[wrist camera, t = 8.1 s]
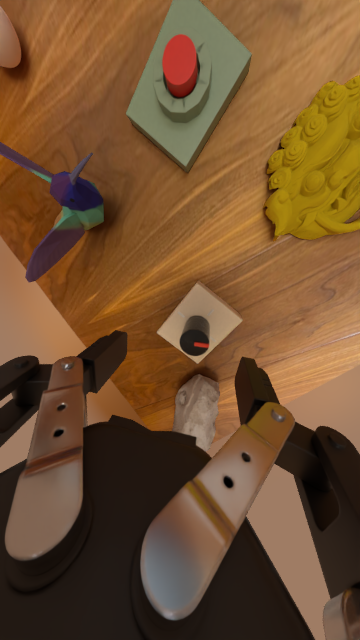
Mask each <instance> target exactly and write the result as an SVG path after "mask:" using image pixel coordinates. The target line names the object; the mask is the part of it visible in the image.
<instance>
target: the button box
mask: <svg viewBox="0 0 360 640" xmlns="http://www.w3.org/2000/svg"><path fill="white" fill-rule="evenodd" d="M179 34H183V35H186V36H188V37H189V38H190V39H191V40H192V42H193V43H194V46H195V49H196V56H197V69H198V74H197V80H196V84H195V86H194V88H193V90H192V91H191V92H190V93H189V94H188V95H187V96H185V97H176V96H174V95H173V94H172V93H171V92H170V91H169V89H168V86H167V83H166V79H165V75H164V72H163V66H162V60H163V53H164V50H165V47H166V45H167V44H168V42H169V41H170V40H171V39H172V38H173V37H174V36H176V35H179ZM251 56H252V54H251V53H250V52H249V51H248V50H247V49H246V48H245V47H244V46H243V44H242V43H241V42H240V41H239V40H238V39H237V38H236V37H235V36H234V35H233V34H232V33H231V32H230V31H229V30H228V29H227V28H226V27H225V26H224V25H223V24H222V23H221V22H220V21H219V20H218V19H217V18H216V17H215V16H214V15H213V14H212V13H211V12H210V11H209V10H208V9H207V8H206V7H205V6H204V5H203V4H202V3H201V2H200V1H199V0H173V1H172V4H171V6H170V9H169V11H168V14H167V16H166V18H165V21H164V23H163V26H162V28H161V30H160V33H159V35H158V38H157V40H156V42H155V45H154V47H153V50H152V52H151V54H150V57H149V59H148V62H147V64H146V66H145V69H144V71H143V74H142V76H141V79H140V81H139V83H138V86H137V88H136V91H135V93H134V95H133V98H132V100H131V103H130V105H129V107H128V110H127V112H126V115H127V116H128V118H129V119H130V121H131V123H132V124H133V125H134V126H135V127H136V128H137V129H138V130H139V131H141V132H142V133H143V134H144V135H145V136H146V137H147V138H148V139H150V140H151V141H152V142H153V143H154V144H155V145H156V146H157V147H159V148H160V149H161V150H162V151H163V152H164V153H165V154H166V155H168V156H169V157H170V158H171V159H172V160H173V161H174V162H175V163H177V164H178V165H179V166H180V167H181V168H182V169H183V170H185V171H186V172H187V173H188V172H189V170H190V169H191V167H192V165H193V164H194V162H195V160H196V159H197V157H198V155H199V154H200V152H201V150H202V149H203V147H204V145H205V144H206V142H207V140H208V139H209V137H210V135H211V134H212V132H213V130H214V129H215V127H216V125H217V124H218V122H219V120H220V119H221V117H222V115H223V114H224V112H225V110H226V109H227V107H228V105H229V104H230V102H231V100H232V99H233V97H234V95H235V94H236V92H237V90H238V89H239V87H240V85H241V84H242V82H243V80H244V78H245V77H246V75H247V73H248V71H249V66H250V61H251Z"/></svg>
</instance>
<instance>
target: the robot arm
mask: <svg viewBox="0 0 360 640" xmlns="http://www.w3.org/2000/svg"><path fill="white" fill-rule="evenodd" d="M126 354H127V333H126V332H122V331H117V330H115V331H114V332H113V333H111V334H110V335H109V336H104V337H102V338H100V339H98V340H97V341H96V342H95V343H93V344H92V345H91V346H89V347H88V348H87V349H85V350H84V351H83V352H81V353H80V354H79V355H78V356H76V357H75V356H70V357H65V358H62V359H59V360H58V361H56V362H55V363H54V364H39V360H38V358H37V357H35V356H22V357H18V358H15V359H12V360H10V361H8V362H7V363H5V364H3V365H2V366H0V401H1V400H2V399H3V398H5V397H6V396H7V395H9V394H10V393H12V396H13V399H12V400H10V401H9V402H8V403H6V404H5V405H4V406H3V407H2V408H0V447H1V446H2V445H3V444H4V443H5V442H6V441H7V440H8V439H9V438H10V437H11V436H12V435H13V434H14V433H15V432H16V431H17V430H18V429H19V428H20V427H21V426H22V425H23V424H24V423H25V422H26V421H27V420H28V419H30V418H31V417H32V416H33V414H35V413H36V412H37V411H38V414H37V419H36V423H35V428H34V432H33V436H32V441H31V445H30V449H29V453H28V458H27V459H25V460H24V461H22V462H20V463H18V464H16V465H15V466H13V467H11V468H9V469H7V470H5V471H4V472H2V473H0V640H315V639H314V637H313V635H312V633H311V631H310V629H309V627H308V625H307V624H306V622H305V620H304V618H303V617H302V615H301V613H300V611H299V609H298V608H297V606H296V604H295V602H294V600H293V599H292V597H291V595H290V593H289V592H288V590H287V588H286V586H285V585H284V583H283V581H282V579H281V577H280V576H279V574H278V572H277V570H276V568H275V567H274V565H273V563H272V561H271V560H270V558H269V556H268V555H267V552H266V551H265V549H264V547H263V545H262V544H261V542H260V540H259V538H258V537H257V535H256V533H255V531H254V529H253V528H252V526H251V524H250V522H249V520H248V519H247V517H246V515H247V513H248V511H249V509H250V507H251V505H252V503H253V502H254V500H255V498H256V496H257V494H258V492H259V491H260V489H261V487H262V485H263V483H264V481H265V479H266V478H267V476H268V474H269V472H270V470H271V468H272V466H273V464H276V465H278V466H280V467H281V468H283V469H285V470H286V471H288V472H290V473H291V474H293V475H294V478H295V482H296V485H297V488H298V492H299V495H300V498H301V502H302V505H303V508H304V511H305V515H306V518H307V522H308V525H309V528H310V531H311V535H312V538H313V542H314V545H315V548H316V552H317V555H318V558H319V562H320V565H321V568H322V572H323V575H324V578H325V582H326V585H327V588H328V592H329V595H330V598H331V599H330V600H329V601H328V602H327V603H326V604H325V606H324V610H323V626H324V632H325V637H326V640H360V454H359V453H358V451H357V450H356V448H355V447H354V445H353V444H352V443H351V442H350V441H349V440H348V439H347V438H346V437H345V436H344V435H342V434H341V433H339V432H338V431H336V430H334V429H332V428H330V427H326V426H320V427H318V428H317V429H316V431H313V430H311V429H309V428H307V427H304V426H303V425H300V424H299V423H297V422H295V419H294V417H293V415H292V414H291V413H290V412H289V411H288V410H287V409H286V408H285V407H283V406H282V405H280V403H279V401H278V398H277V396H276V393H275V391H274V389H273V387H272V384H271V382H270V379H269V377H268V375H267V374H266V372H265V371H264V370H263V369H261V368H258V367H257V364H256V362H255V360H254V359H251V358H246V357H242V358H241V360H240V363H239V367H238V370H237V373H236V376H235V390H236V397H237V404H238V410H239V417H240V424H241V426H240V427H239V428H238V430H237V431H236V432H235V433H234V434H233V435H232V436H231V437H230V439H229V440H228V441H227V442H226V443H225V444H224V445H223V446H222V448H221V449H220V450H219V451H218V452H217V453H216V454H215V456H214V457H213V458H211V457H210V456H209V455H208V454H207V453H206V452H205V451H204V450H203V449H201V448H200V447H198V446H197V445H196V439H197V437H194V436H191V435H187V434H183V433H179V432H176V431H151V430H149V429H147V428H145V427H144V426H142V425H140V424H138V423H137V422H135V421H133V420H131V419H127V418H123V417H119V416H115V415H112V416H111V418H110V420H109V421H108V422H99V423H95V424H92V425H89V426H88V425H87V403H86V402H87V400H86V394H88V392H93V393H97V392H98V391H99V390H100V389H101V387H102V386H103V385H104V384H105V382H106V381H107V380H108V379H109V378H110V376H111V375H112V374H113V373H114V372H115V370H116V369H117V368H118V367H119V365H120V364H121V363H122V362H123V361H124V359H125V357H126Z"/></svg>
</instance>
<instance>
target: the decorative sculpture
mask: <svg viewBox="0 0 360 640" xmlns="http://www.w3.org/2000/svg"><path fill="white" fill-rule="evenodd" d="M0 154H1V155H3V156H4V157H6V158H8V159H10V160H11V161H13V162H15V163H17V164H19V165H20V166H22V167H24V168H26V169H27V170H29V171H31V172H33V173H34V174H36V175H38V176H39V177H41V178H43V179H44V180H46V181H48V182H49V183H51V187H50V194H51V195H52V196H53V197H54V198H55V199H56V200H57V201H58V203H59V204H60V205H61V206H63V209H62V211H61V212H60V214H59V215H58V217H57V218H56V219H55V223H54V227H53V228H52V229H51V230H50V231H49V233H48V234H47V235H46V236H45V237H44V239H43V240H42V241H41V242H40V243H39V245H38V246H37V247H36V248H35V249H34V252H33V254H32V256H31V259H30V261H29V263H28V266H27V272H26V279H27V280H28V282H32V281H36V280H37V279H38V278H39V277H41V276H42V275H43V274H44V273H46V272H47V271H48V270H49V269H50V268H51V267H52V266H53V265H54V264H56V263H57V262H58V261H59V260H60V259H61V258H62V257H63V256H64V255H65V254H66V253H67V252H68V251H69V250H70V249H71V248H72V247H73V246H74V245H75V244H76V243H77V241H78V240H79V239H80V238H81V237H82V236H83V234H84V233H85V231H84V230H89V229H91V228H93V227H95V226H97V225H99V224H100V223H102V222H104V207H103V198H102V196H101V195H100V193H99V191H98V189H97V188H96V186H95V184H94V183H92V182H90V181H87V180H84V179H82V178H80V177H79V174H80V172H81V171H82V169H83V168H84V166H85V164H86V163H87V162H88V160H89V159H90V157H91V156H92V155H93V153H90V154H89V155H88V156H87V157H86V158H84V159H83V160H82V161H81V162H80V163H79V164H78V165H77V166H76V167H75V169H74V170H73V171H72V173H68V172H65V171H64V172H61V173H58V174H56V175H53V174H52V173H50V172H49V171H47V170H45V169H44V168H42V167H40V166H39V165H37V164H35V163H34V162H32V161H31V160H29V159H27V158H26V157H24V156H22V155H21V154H19V153H17V152H16V151H14V150H12V149H11V148H9V147H8V146H6V145H4V144H3V143H1V142H0Z"/></svg>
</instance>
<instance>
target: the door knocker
mask: <svg viewBox="0 0 360 640" xmlns="http://www.w3.org/2000/svg"><path fill="white" fill-rule="evenodd" d="M294 122H296V127H292V128H291V129H290V130H289V131H288V132H286V133H285V135H284V136H283V138H282V140H281V141H280V142H281V146H282V147H283V148H284V149H281V150H277V151H275V152H274V153H273V155H272V156H271V157H270V158H269V160H268V161H269V168H270V169H269V168H268V170H267V173H266V174H270V173H272V172H274V171H276V172H274V173H273V174H272V175H271V177H270V178H269V180H268V181H269V186H270V188H269V189H272V188H273V189H274V188H279V189H278V190H276V191H275V192H274V193H273V194H272V195H271V196H270V197H269V198H268V199H267V200H266V202H265V204H266V207H268V209H266V212H265V214H266V215H267V216H268V218H269V219H271V221H273V223H274V222H275V225H276V230H275V232H274V233H275V236H274V239H273V242H274V241H276V240H277V238H278V236H279V235H284V234H288V233H291V234H292V235H294V236H296V237H298V238H301V239H306V240H308V239H311V240H313V239H317V238H320V237H322V236H324V235H335V234H341V233H346V232H351V231H355V230H358V229H360V218H359V219H357V220H355V221H353V222H351V223H349V224H344V222H345V221H346V220H348V219H349V218H351V217H352V216H353V215H354V214H355V213H356V212H357V211H358V210H359V209H360V75H359V76H356V77H354V78H352V79H351V80H349V81H348V82H347V83H345V84H344V85H338V84H337V83H336V82H335V81H330V82H328V83H326V84H324V85H323V86H322V88H321V89H320V90H319V91H318V93H317V94H316V96H315V97H314V98H313V100H312V102H311V104H310V106H309V107H307V108H305V109H304V110H303V111H302V112H301V113H300V114H299V115H298V117H297V118H296V120H295V121H294ZM294 125H295V123H293V126H294ZM267 163H268V162H267ZM270 181H271V185H272V187H271V185H270ZM267 183H268V182H267ZM265 204H264V206H263V209H264V207H265Z"/></svg>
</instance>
